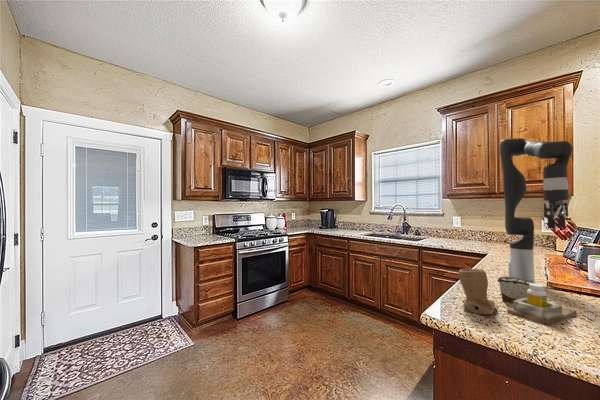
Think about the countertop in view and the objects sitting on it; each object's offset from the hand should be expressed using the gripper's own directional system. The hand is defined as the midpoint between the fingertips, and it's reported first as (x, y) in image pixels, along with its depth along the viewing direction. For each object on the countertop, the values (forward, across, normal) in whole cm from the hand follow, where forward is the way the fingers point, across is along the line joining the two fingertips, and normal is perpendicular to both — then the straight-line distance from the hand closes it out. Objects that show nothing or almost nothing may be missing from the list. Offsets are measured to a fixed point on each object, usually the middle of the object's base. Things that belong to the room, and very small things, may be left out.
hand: (556, 227), depth 107 cm
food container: (+31, +17, -7) cm, 36 cm away
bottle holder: (+30, +22, +3) cm, 37 cm away
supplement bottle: (+29, +25, +3) cm, 38 cm away
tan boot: (+30, +38, -11) cm, 50 cm away
